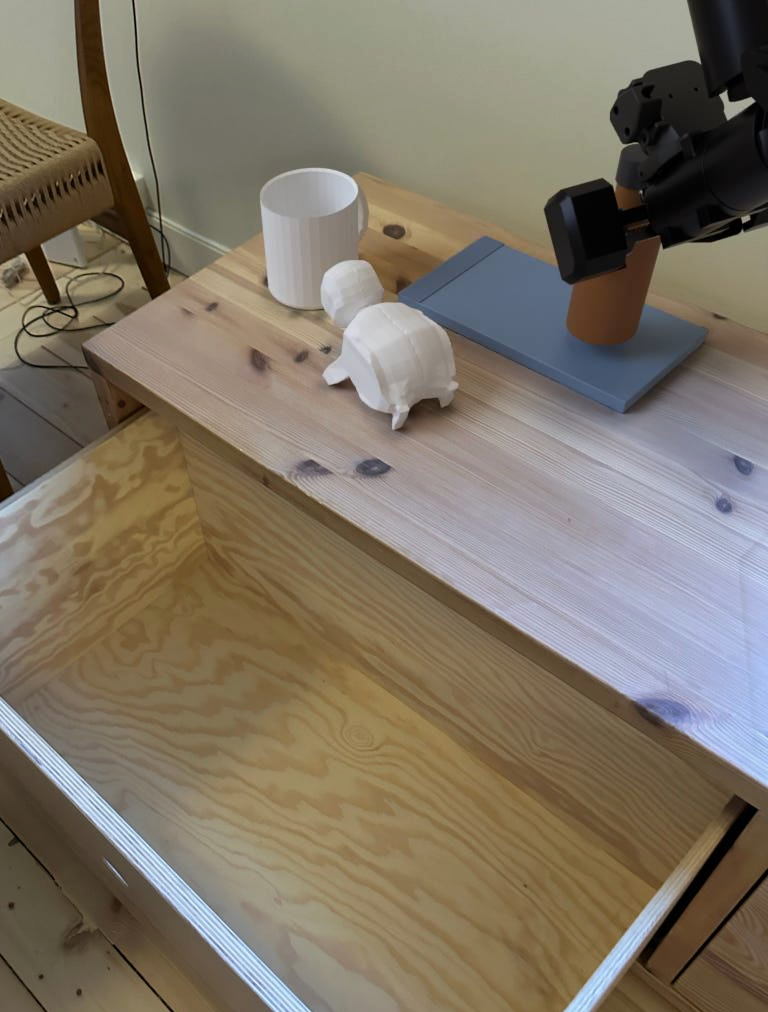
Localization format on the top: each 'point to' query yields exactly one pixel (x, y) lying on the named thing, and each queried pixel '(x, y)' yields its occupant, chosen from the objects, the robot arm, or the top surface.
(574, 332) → the brown bottle
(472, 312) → the blue slab
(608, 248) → the robot arm
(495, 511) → the top surface
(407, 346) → the white turtle figurine
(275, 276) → the mug
